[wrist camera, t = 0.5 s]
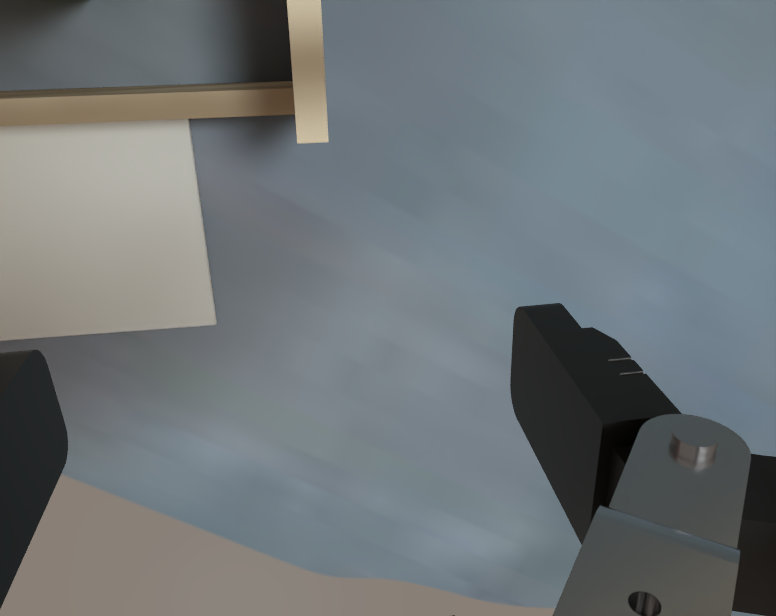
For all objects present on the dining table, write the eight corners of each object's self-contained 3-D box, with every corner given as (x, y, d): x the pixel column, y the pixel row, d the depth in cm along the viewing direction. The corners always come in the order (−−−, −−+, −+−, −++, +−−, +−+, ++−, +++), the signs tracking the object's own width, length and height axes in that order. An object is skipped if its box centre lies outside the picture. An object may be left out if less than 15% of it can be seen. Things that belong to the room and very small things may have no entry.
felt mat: (-108, 120, 33) (-112, 122, 33) (187, 109, 35) (186, 110, 35) (-39, 340, 38) (-42, 343, 38) (216, 321, 40) (216, 324, 40)
